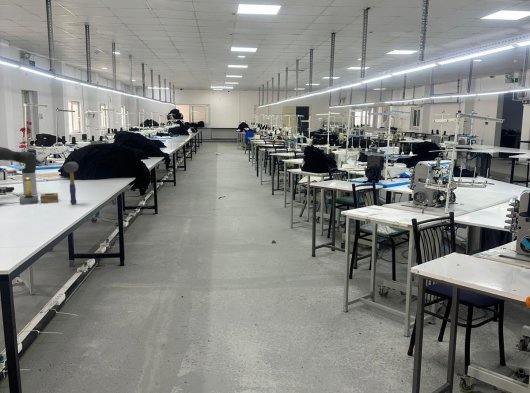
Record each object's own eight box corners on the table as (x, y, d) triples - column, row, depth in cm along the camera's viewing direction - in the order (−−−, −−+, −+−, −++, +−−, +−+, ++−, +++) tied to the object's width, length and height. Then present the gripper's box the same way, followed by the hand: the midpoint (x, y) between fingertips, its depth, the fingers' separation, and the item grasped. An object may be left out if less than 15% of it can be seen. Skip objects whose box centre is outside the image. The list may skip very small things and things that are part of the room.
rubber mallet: (76, 206, 297) (74, 162, 292) (65, 206, 296) (62, 162, 290) (81, 202, 309) (78, 160, 304) (70, 202, 308) (67, 160, 302)
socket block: (21, 201, 309) (20, 196, 309) (38, 200, 314) (38, 195, 313) (19, 204, 299) (19, 198, 298) (37, 203, 303) (37, 197, 303)
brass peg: (26, 202, 307) (24, 177, 304) (32, 201, 309) (30, 177, 306) (25, 203, 304) (23, 178, 301) (32, 202, 305) (30, 177, 302)
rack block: (41, 200, 315) (41, 193, 314) (58, 199, 319) (57, 192, 319) (40, 203, 304) (40, 196, 303) (58, 202, 309) (57, 195, 308)
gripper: (-17, 186, 287) (11, 185, 294) (-13, 183, 300) (14, 182, 307) (-15, 197, 289) (12, 196, 295) (-12, 194, 301) (15, 193, 308)
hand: (13, 189), depth 301 cm, fingers open, 8 cm apart
